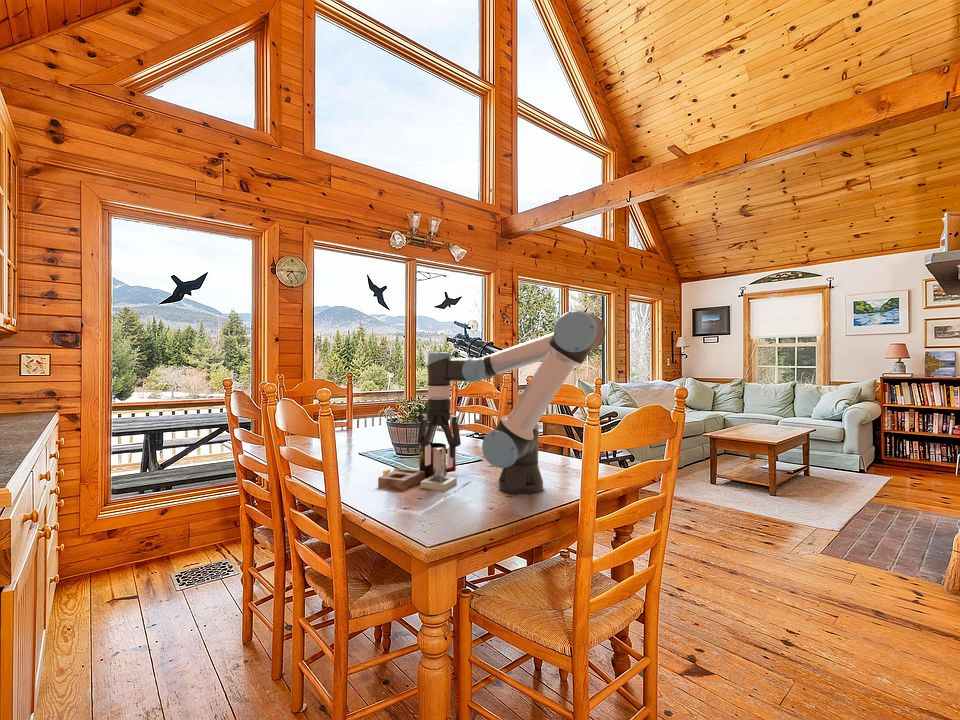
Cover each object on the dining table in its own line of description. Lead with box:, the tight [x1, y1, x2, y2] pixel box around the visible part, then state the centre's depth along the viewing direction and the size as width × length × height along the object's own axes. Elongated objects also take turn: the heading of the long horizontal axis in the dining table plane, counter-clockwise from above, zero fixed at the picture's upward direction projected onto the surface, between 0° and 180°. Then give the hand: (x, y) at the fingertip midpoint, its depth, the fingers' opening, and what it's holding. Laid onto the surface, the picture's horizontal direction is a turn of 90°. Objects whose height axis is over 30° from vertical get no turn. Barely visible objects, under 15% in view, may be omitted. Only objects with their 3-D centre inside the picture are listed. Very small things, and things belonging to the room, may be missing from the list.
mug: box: [418, 442, 457, 479], centre depth 179 cm, size 10×14×12 cm
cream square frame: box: [419, 476, 458, 492], centre depth 163 cm, size 9×9×3 cm
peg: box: [433, 447, 444, 483], centre depth 163 cm, size 4×4×13 cm
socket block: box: [377, 467, 426, 491], centre depth 166 cm, size 10×14×4 cm
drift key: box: [382, 468, 391, 476], centre depth 172 cm, size 10×3×4 cm, turn 67°
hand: (438, 465), depth 163 cm, fingers open, 8 cm apart
